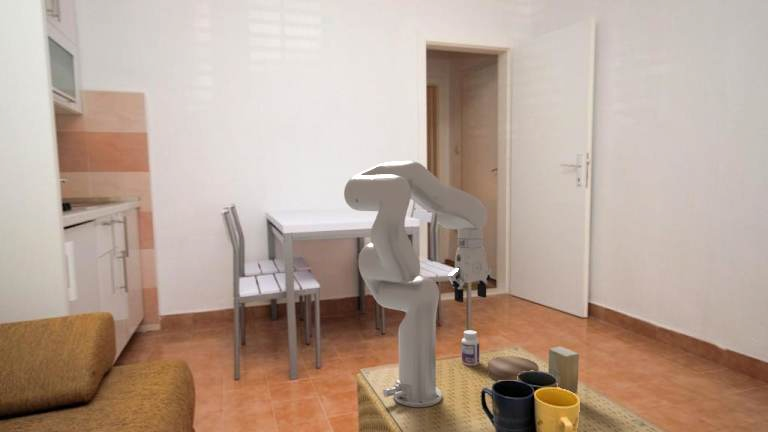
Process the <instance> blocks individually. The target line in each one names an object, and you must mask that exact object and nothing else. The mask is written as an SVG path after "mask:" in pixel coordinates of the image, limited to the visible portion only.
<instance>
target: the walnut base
mask: <svg viewBox="0 0 768 432" xmlns="http://www.w3.org/2000/svg"><path fill="white" fill-rule="evenodd" d="M539 369H540V367H539V365H538V364H537V363H536V362H535V361H533V360H531V359H528V358H524V357H520V356H510V355H509V356H507V355H505V356H497V357H494V358H491V359H489V360H488V362H487V376H488V377H489V378H490V379H491V380H493V381H495V382H497V381H498V380H517V376H518V374H519V373H521V372H523V371H530V370H534V371H538V372H539Z"/></svg>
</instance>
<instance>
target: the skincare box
mask: <svg viewBox="0 0 768 432" xmlns="http://www.w3.org/2000/svg"><path fill="white" fill-rule="evenodd" d="M579 357H580V355H579V353H578V352H576V351H572V350H571V349H569V348H565V347H564V346H555V347H550V348H548V369H547V370H548V372H547V373H549V374H551V375H553V376H554V377H555V378H556V379H557V383H558V387H560V388H562V389H566V390H569V391H571V392H573V393H575V394H577V395H578V389H579V388H578V387H579V362H580V361H579V359H580V358H579Z"/></svg>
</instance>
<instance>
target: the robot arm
mask: <svg viewBox="0 0 768 432" xmlns="http://www.w3.org/2000/svg"><path fill="white" fill-rule="evenodd" d="M343 191H344V192H343V195H344V196H343V197H344V200H345V202H346V204H347V205H348V207H350V208H351V209H353V210H355V211H360V212H361V211H362V212H377V214H376V217H375V219H374V222H373V224H372V226H371V228H370V232H369V236H370V238H369V239H370V243H368V244H366V245H364V246H363V248H362V249H361V250H360V252H359V255H358V259H357V260H358V261H357V263H358V264H357V265H358V269H359V273H360V276H361V278H362V279H363V281H364V283H365V285H366V286H367V288H368V290H369V292H370V293H371V295H372V297H373V298H374V300H375V302H376V303H377V304H378V305H380V306H381V307H383V308H386V309H390V310H395V311H402V312H404V313H405V316H404V318H403V319H402V321H401V322H400V324H399V326H398V379H397V380H395V384H394V385H393V386H392V387H388V388H384V389H383V390H382V391H383V392H382V393H383V396H384V397H385V398H388V397H391V396H392V397H393V399H394V401H396V403H398V404H400V405H403V406H406V407H411V408H426V407H430V406H431V407H432V406H434V405H436V404H438V403H439V402H440V401H441V400H442V399H443V393H442V391H441V389H440V388H439V387H438V386H437V381H436V380H437V375H436V374H437V372H436V370H437V368H436V367H437V365H436V364H437V361H436V358H437V357H436V356H437V353H436V350H437V349H436V348H437V346H436V343H437V342H436V341H437V340H436V338H437V337H436V321H437V312H438V306H439V301H440V289H439V285H438V284H437V283H436V282H435V280H433V279H431V278H430V277H427V276H425V275H420V273H421V264H420V261H419V257H418V255H417V253H416V251H415V249H414V246H413V245H412V242H411V241H410V238H409V236H408V233H407V230H406V227H405V226H406V225H405V223H406V222H405V221H406V217H407V212H408V208H409V205H410V202H411V200H412V201H413V202H414V203H416V204H417V205H418V206H420V208H422V209H423V210H425V211H427V212H430V213H434V214H437V215H436V219H437V223H438V224H439V226H441V227H442V228H444V229H447V230H457V241H456V243H455V244H456V246H457V248H456V252H455V258H454V270H453V271H451V272H449V274H448V275H447V278H448V280H449V283H450V285H451V286H452V288H453V289H454V301H455V302H458V303H464V289H463V287H464V285H465V283H468V284H470V283H475V282H478V283H477V285H476V286H477V290H476V291H477V294H476V295H477V297H481V298H484V299H485V298H487V285H488V283H489V282H488V281H489V280H490V278H491V273H492V271H493V269H492V268H490V267H488V259H487V253H486V249H485V247H484V235H483V234H484V233H483V231H484V229H483V228H485V226H486V224H487V222H488V212H487V209H486V208H485V205H483V204H484V203H482V202H481V201H480V200H479V199H478V198H476V196H474V195H473V194H471V193H468V192H466V191H464V190H461V189H458V188H456V187H453V186H451V185H447V184H444V183H443V182H442V181H441V180H440V179H439V178H437V177H436V176H435V175H434V174H433V173H432V172H431V171H430V170H428V169H427V168H426V167H425V166H424V165H423V164H422V163H419V162H417V161H414V160H405V161H389V162H384V163H380V164H378V165H376V166H373V167H371V168H369V169H367V170H365V171H362V172H359V173H358V174H355V175H354V176H352V177H351V178H350V179H349V180H348V181H347V183H346V184H345V187H344V189H343Z"/></svg>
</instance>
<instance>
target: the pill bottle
mask: <svg viewBox="0 0 768 432" xmlns="http://www.w3.org/2000/svg"><path fill="white" fill-rule="evenodd" d="M461 363H462V364H463V365H465V366H468V367H473V366H474V367H475V366H478V365H480V340H479V338H478V333H477V331H476V330H471V329H470V330H469V329H468V330H464V331H463V338H461Z"/></svg>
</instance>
